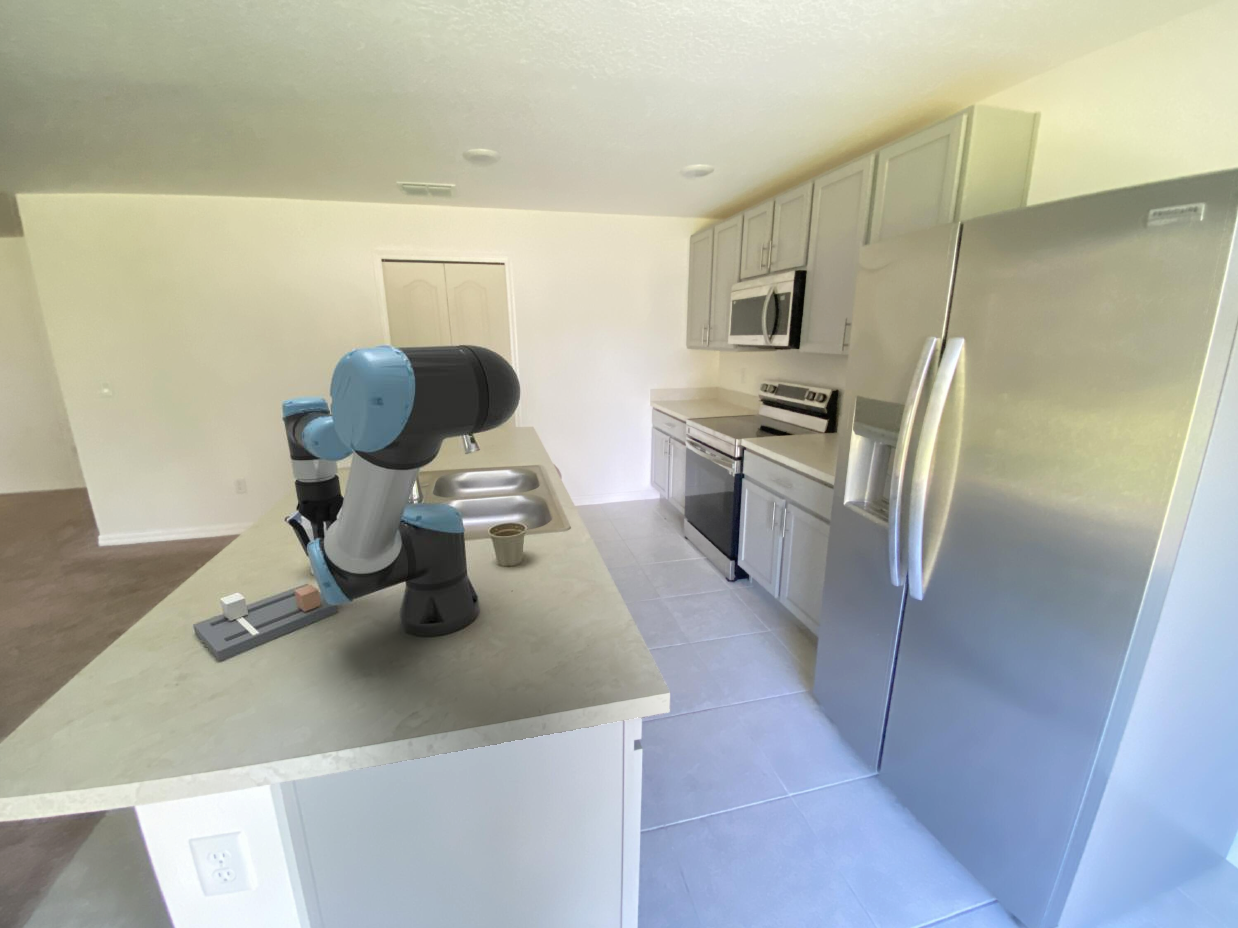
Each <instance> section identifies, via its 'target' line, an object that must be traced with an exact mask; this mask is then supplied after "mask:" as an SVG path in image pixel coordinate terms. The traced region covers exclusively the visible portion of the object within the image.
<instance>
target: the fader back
mask: <svg viewBox="0 0 1238 928" xmlns="http://www.w3.org/2000/svg"><path fill="white" fill-rule="evenodd" d="M219 601H220V604H221V605H220V607H221V610H222V614H223V615H224V616H225V617H226V618H227V619H228V620H229V621H231V620H234V619H237V618H239V617H242V616H245V615H247V614H248V610H247V606H246V605H247V602H246V597H244V596H243V595H242V594H241V593H239V592H236V593H232V594H230V595H227V596H224V597H221V598H219Z"/></svg>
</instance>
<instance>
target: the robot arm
mask: <svg viewBox="0 0 1238 928" xmlns="http://www.w3.org/2000/svg"><path fill="white" fill-rule="evenodd" d="M330 381H331V382H330V387H329V391H330V392H329V396H330V397H331V403H330V407H329V404H328V401H327V399H325V398H323V397H317V396H316V397H315V396H314V397H312V396H311V397H309V396H308V397H297V398H296V397H295V398H289V399H286V400H284V401H283V402H282V404H281V408H282V421H283V422H284V428H285V435H286V439H287V446H288V450H289V455H290V463H291V468H292V475H293V478H294V479H295V481H294V485H295V486H294V487H295V493H296V498H297V504H296V508H295V509H296V511H295V512H294V513H293V514H292V515H290V516H289V515H288V516H286V517H285V518H284V522H285V523H287V525H289V526H290V527H291V528H292V530H293V531H294V534H295V535H296V537H297V539H298V542H299V544H300V545H301V547H302V549H303V550H304V553H305V555H306V557H308V560H309V563H310V567H311V566H312V569H313V572H314V575H313V576H314V578H315V580H316V583H317V586H318V588H319V589H318V590H319V592H321V593H322V595H323V598H324V599H325V601H326V602H327V603H328V604H330V605H337V606H338V605H341V604H346V603H352V602H353V601H354V600H357V599H360V598H363V597H364V596H365V597H366V596H368V595H371V594H374V593H376V592H379V591H382V590H385V589H388V588H391V587H394V586H397V585H399V584H403V583H405V587H404V588H405V589H404V593H403V597H402V601H401V605H400V608H399V621H400V622H399V623H400V626H401V629H402V630H404V631H405V632H406V633H407V634H410V635H413V636H419V637H436V636H442V635H446V634H451V633H453V632H456V631H458V630H461V629H463V628H464V627H466V626H468V625H469V624H471V623H472V622H473V621H474V620H476V618H477V616H478V615H479V613H480V601H479V596H478V595H477V592H476V590H475V588H474V586H473V584H472V582H471V580H470V578H469V575H468V567H467V566H468V565H467V552H466V542H465V540H466V539H465V527H464V521H463V515H462V513H461V511H460V510H459V509H457V508H456V507H454V506H452V505H449V504H444V503H436V502H421V503H420V502H419V503H410V504H408V503H409V500H410V497H411V494H412V492H413V489H414V487H415V484H416V480H417V479H418V475H419V473H420V469H422V468H424V467H426V466H428V465H429V464H431V463H432V462H433V461H434V459H437V458H436V457H437V456H438V454H439V452H440V450H441V447H442V445H443V443H444V441H445V440H446V439H451V438H457V437H461V436H468V435H469V436H470V435H474V434H479V433H484V432H488V431H491V430H494V429H496V428H498V427H500V426H501V425H503V424H505V423H507V421H509V420H510V419H511V418H512V416H513V415H514V414H515V412H516V410H517V409H518V407H519V403H520V400H521V384H520V380H519V378H518V375H517V373H516V371H515V370H514V368H513V365H511V364H510V363H509V361H508V360H506V359H505V358H504V356H502V355H500V354H499V353H497V352H496V351H494V350H491V349H489V348H486V347H483V346H478V345H472V344H462V345H461V344H460V345H438V346H437V345H435V346H432V345H431V346H410V347H409V346H407V347H405V346H404V347H397V346H393V345H382V344H381V345H377V346H374V347H365V348H364V347H362V348H356V349H353V350H350V351H348V352H347V353H345V354H344V355H342V357H340V359H339V361H338V362H337V363H336V365H335V368H334V369H333V373H332V377H331V380H330ZM329 408H330V409H329ZM351 455H352V457H351V458H352V459H351V462H350V463H351V464H350V469H349V472H348V477H347V482H346V487H345V492H344V496H343V495H342V490H341V484H340V483H341V482H340V476H339V475H338V473H339V470H338V463H337V462H339V461H342V460H343V461H344V459H345V460H346V459H347V458H349V457H350V456H351ZM341 508H342V509H341ZM340 510H341V514H340V518H339V519H337V515H338V513H339V511H340ZM301 516H303V517H305V518H306V519H307V520H309V521H310V524H311V526H312V530H313V536H314V541H310V539H309V537H308V535H307V533H306V531H305V529H304V527H303V526H302V525H301V523H302V519H301ZM324 522H325V523H326V529H327V532H326V534H325V535H324Z"/></svg>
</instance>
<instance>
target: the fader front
mask: <svg viewBox="0 0 1238 928" xmlns="http://www.w3.org/2000/svg"><path fill="white" fill-rule="evenodd" d="M294 592H295V598H296V603H297V606H298V607H299V608H300V609H302V610H303V611H304V612H306V611H308V610H311V609H313V608H316V607H318V606H321V603H320V597H319V592H320V590H319V589H317V588H316V587H315V586H313V585H312V584H309V585H308V586H305V587H302V588H299V589H297V590H294Z"/></svg>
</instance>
